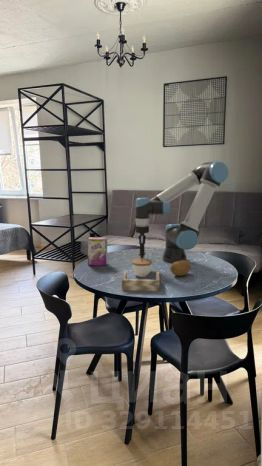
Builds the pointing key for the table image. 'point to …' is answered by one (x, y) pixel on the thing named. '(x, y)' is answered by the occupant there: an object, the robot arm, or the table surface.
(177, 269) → the potato
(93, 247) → the candy bar box
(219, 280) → the table surface
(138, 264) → the lidded jar
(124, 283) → the bay
